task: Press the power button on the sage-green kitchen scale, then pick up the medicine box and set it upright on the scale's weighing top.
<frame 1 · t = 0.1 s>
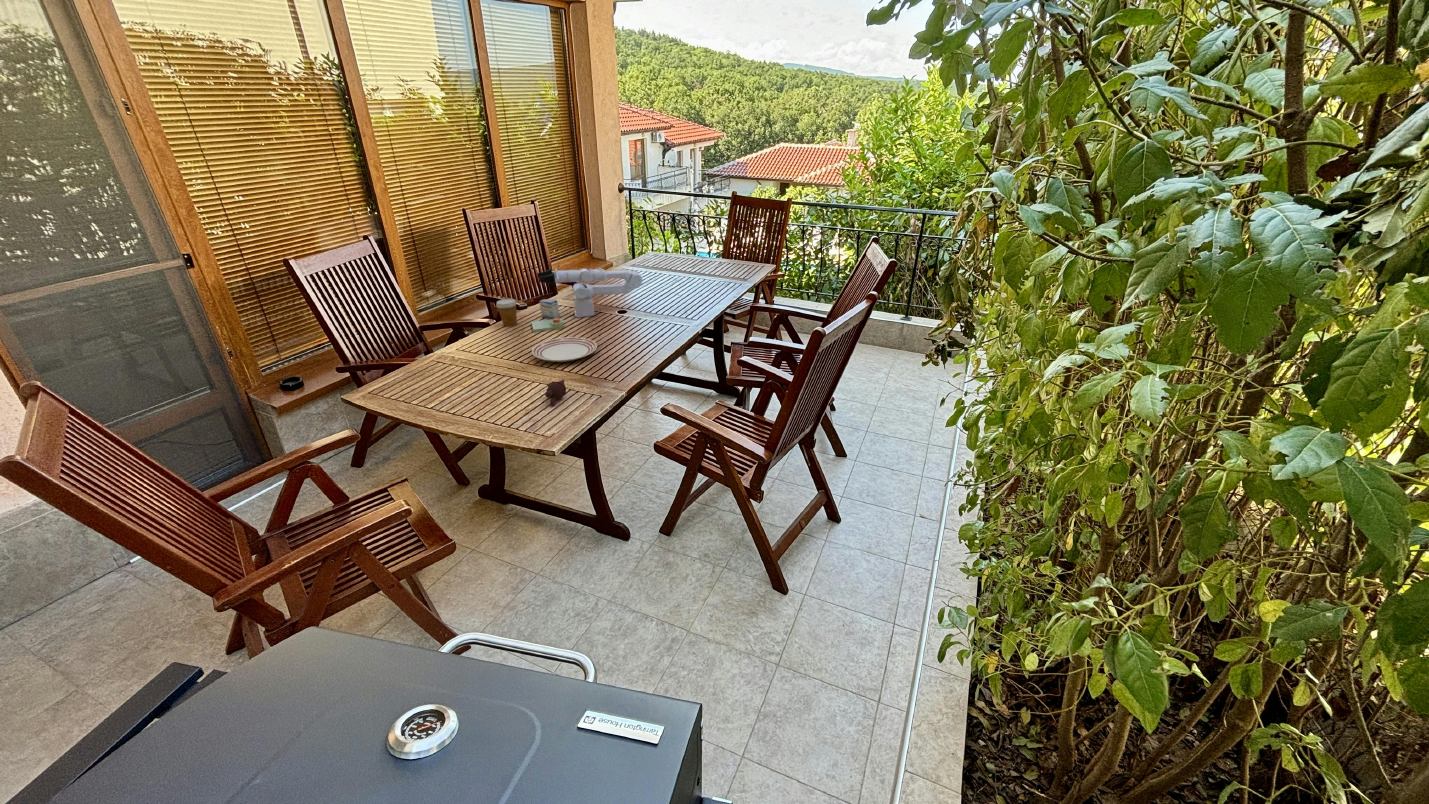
hand: (538, 277, 291), 22 cm above the table, tool horizontal, fingers open, 7 cm apart
scale: (547, 326, 291), on the table
medicine box: (550, 317, 304), on the table
dinner plate: (565, 354, 259), on the table
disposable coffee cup: (510, 325, 295), on the table
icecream: (557, 398, 221), on the table
power button: (556, 320, 288), point 4 cm above the table, slide at 0.1 cm
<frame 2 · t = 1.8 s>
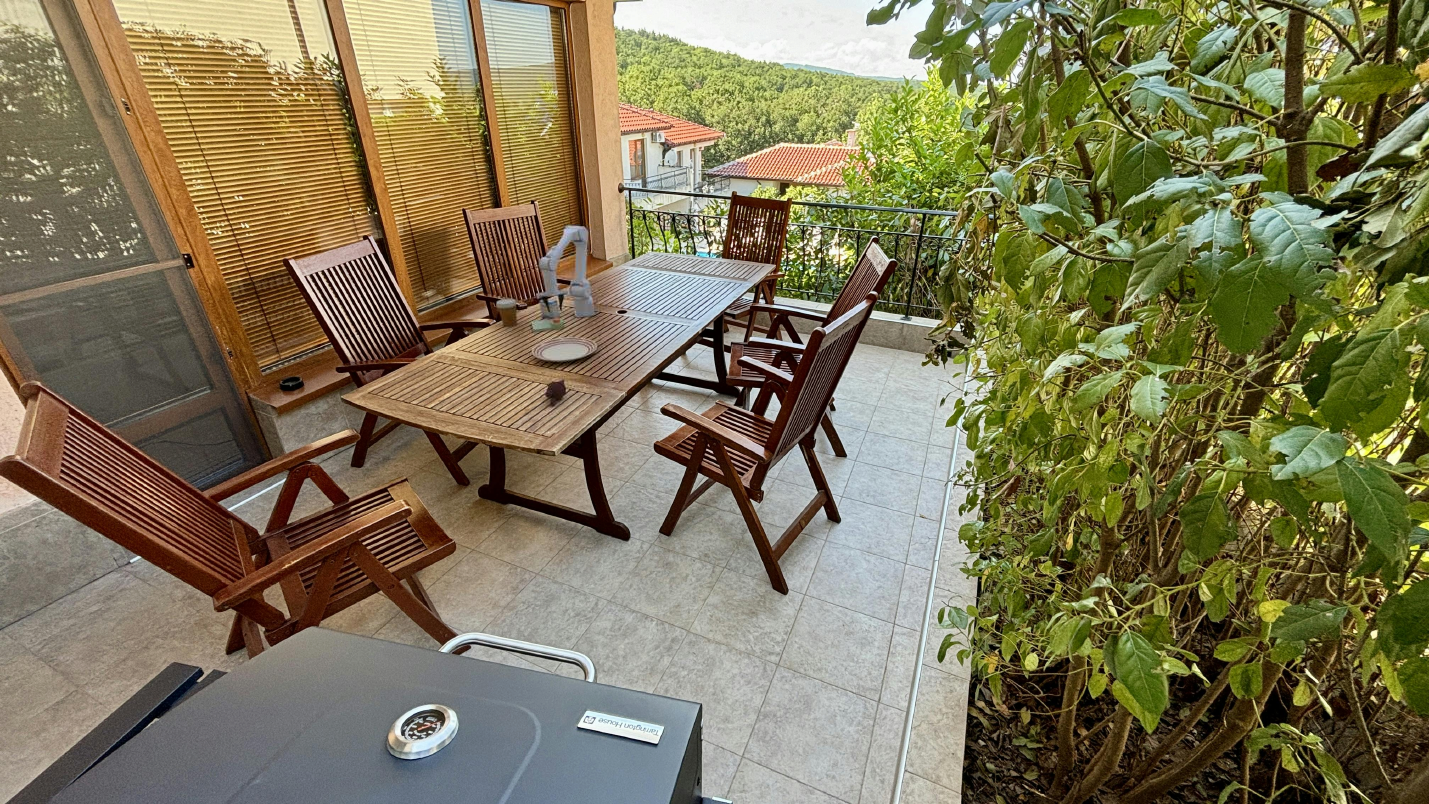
hand: (555, 310, 286), 8 cm above the table, tool pointing down, fingers open, 5 cm apart
nothing on the table moved.
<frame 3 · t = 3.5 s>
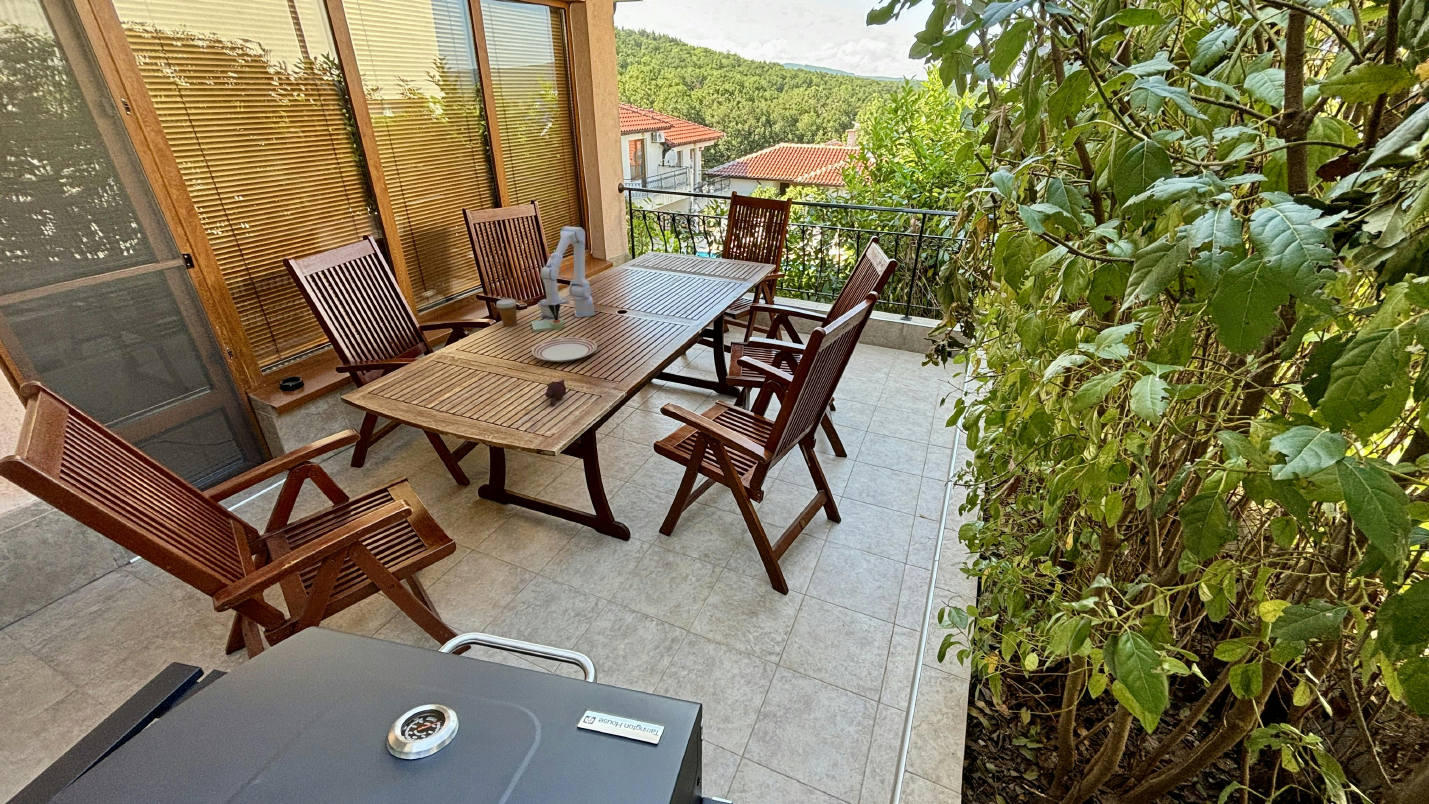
hand: (556, 319, 288), 4 cm above the table, tool pointing down, fingers closed, pressing on power button
power button: (556, 321, 288), point 3 cm above the table, slide at -0.2 cm, touching gripper
everything else where it was.
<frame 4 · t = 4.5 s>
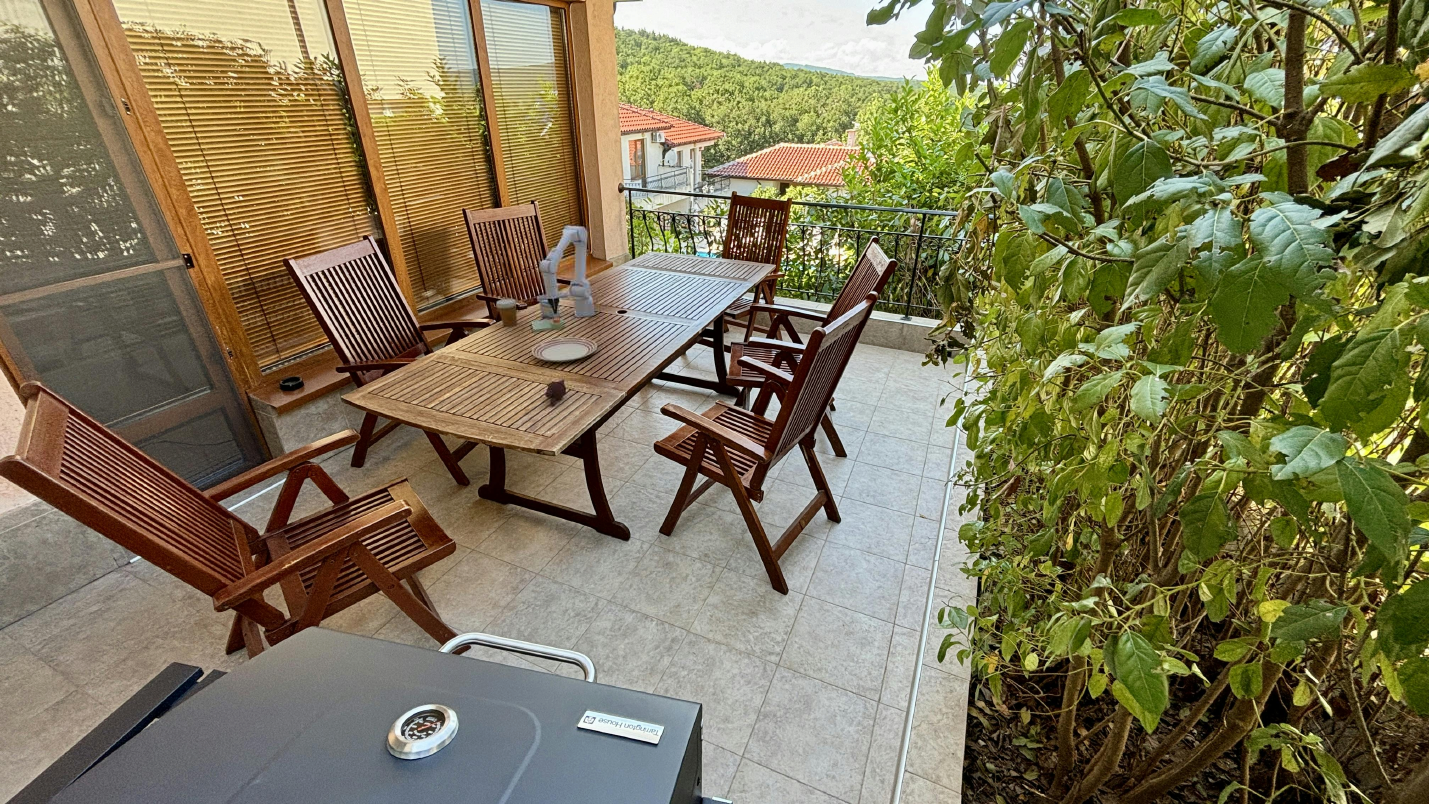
hand: (555, 313, 287), 7 cm above the table, tool pointing down, fingers closed
power button: (556, 320, 288), point 4 cm above the table, slide at 0.1 cm
everything else where it was.
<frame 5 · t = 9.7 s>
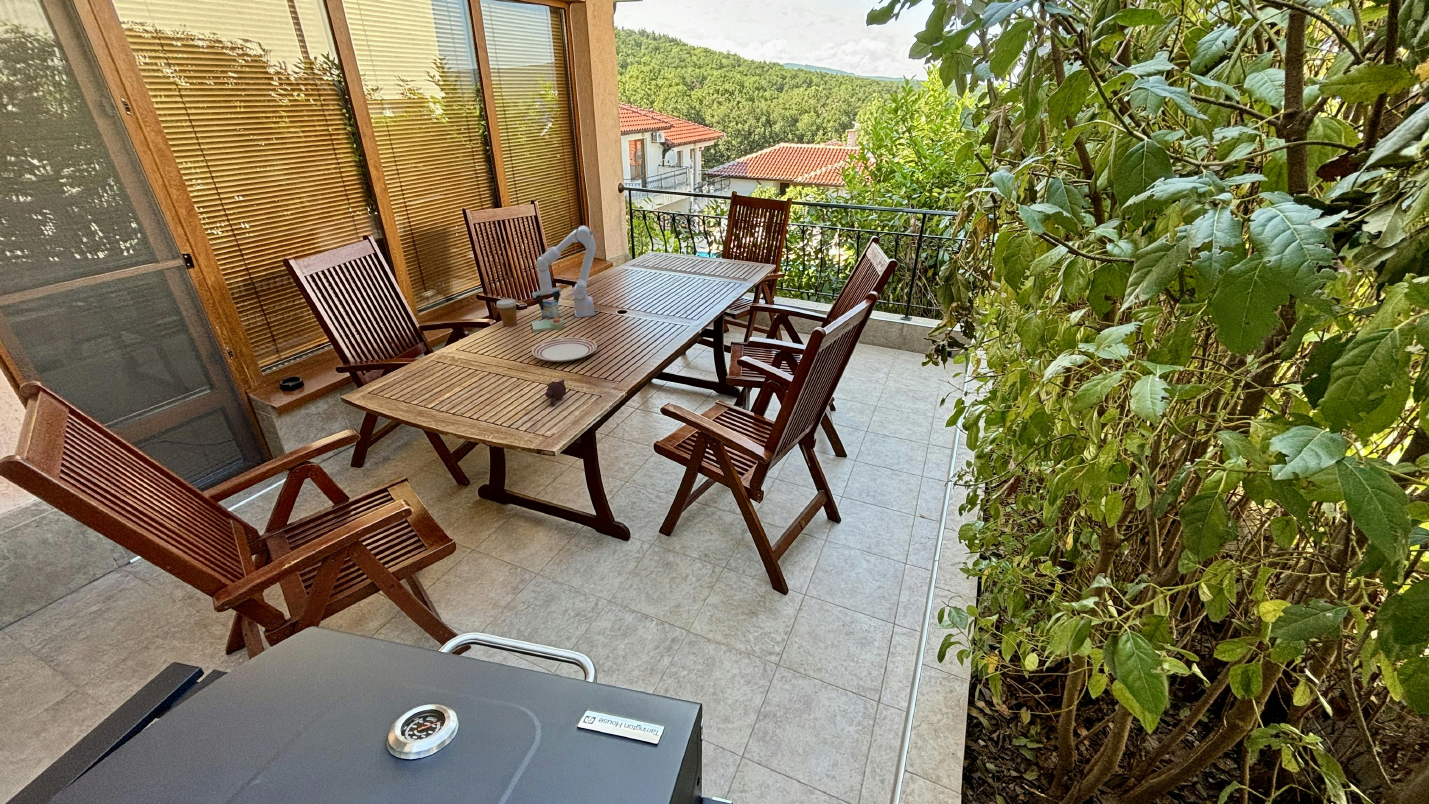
hand: (549, 308, 302), 5 cm above the table, tool pointing down, fingers open, 7 cm apart
nothing on the table moved.
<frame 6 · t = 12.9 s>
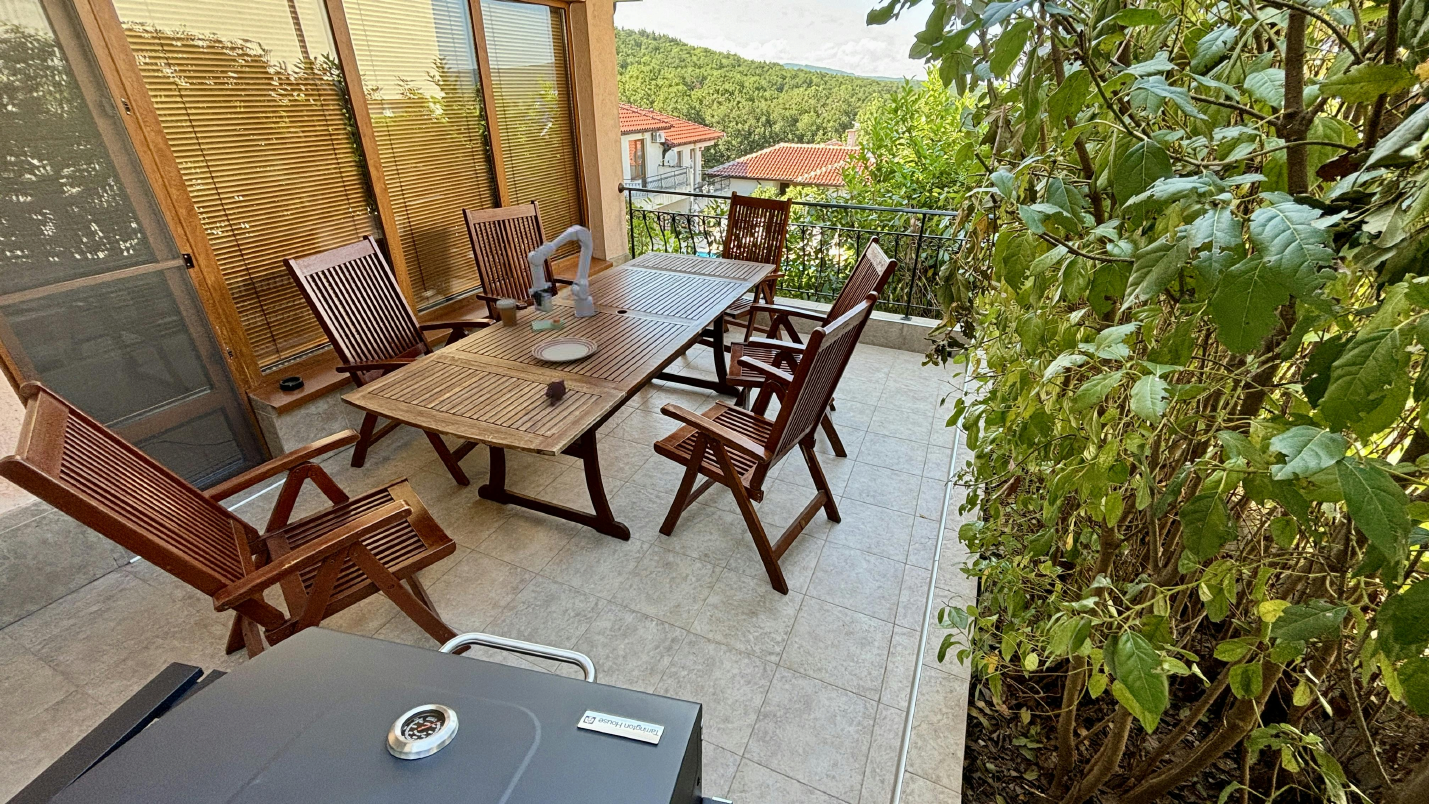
hand: (542, 304, 292), 9 cm above the table, tool pointing down, fingers closed on medicine box, 4 cm apart
medicine box: (544, 310, 293), point 6 cm above the table, touching gripper
everything else where it was.
when the fingers open (4 cm above the table, at t = 15.1 s): medicine box stays where it is, resting on scale.
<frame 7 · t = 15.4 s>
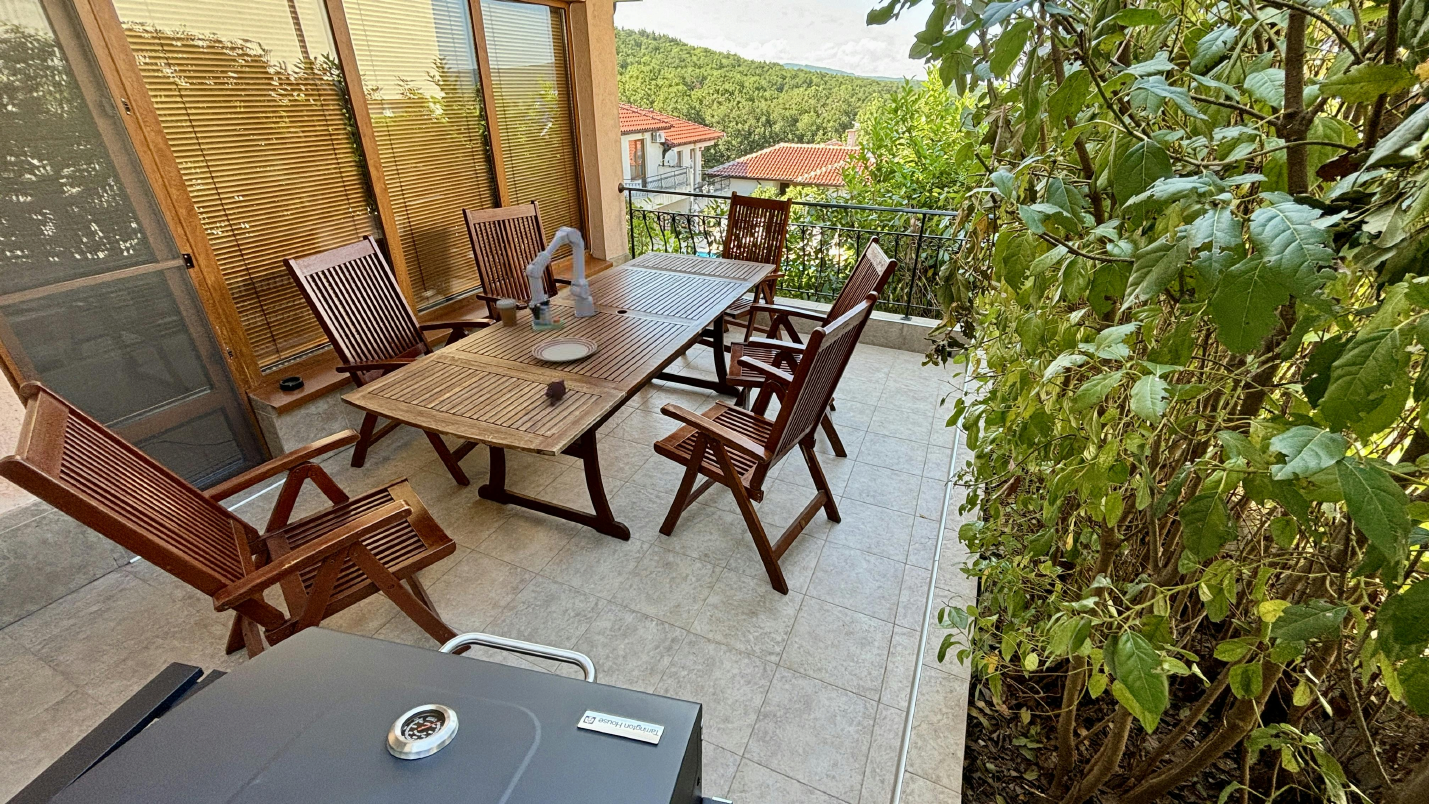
hand: (541, 317, 290), 5 cm above the table, tool pointing down, fingers open, 7 cm apart
medicine box: (543, 324, 291), point 1 cm above the table, touching scale
everything else where it was.
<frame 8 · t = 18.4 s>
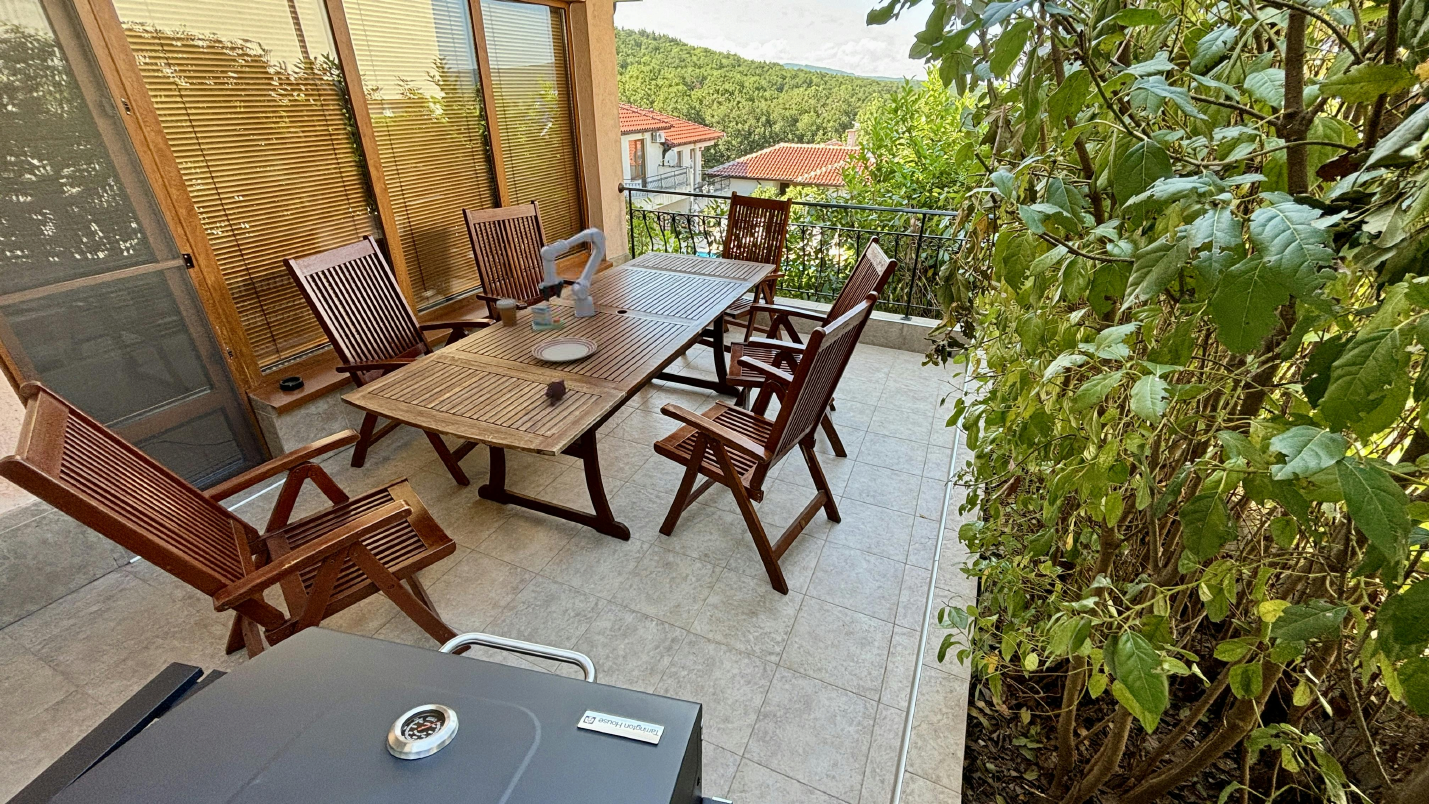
hand: (552, 299, 296), 10 cm above the table, tool pointing down, fingers open, 7 cm apart
nothing on the table moved.
at the end: power button pushed in 1.0 cm at the most during the clip, back to where it started at the end; medicine box inside the target area on the scale (1.5 cm from its centre), point 1.2 cm above the scale's base; medicine box tilted 0° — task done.
